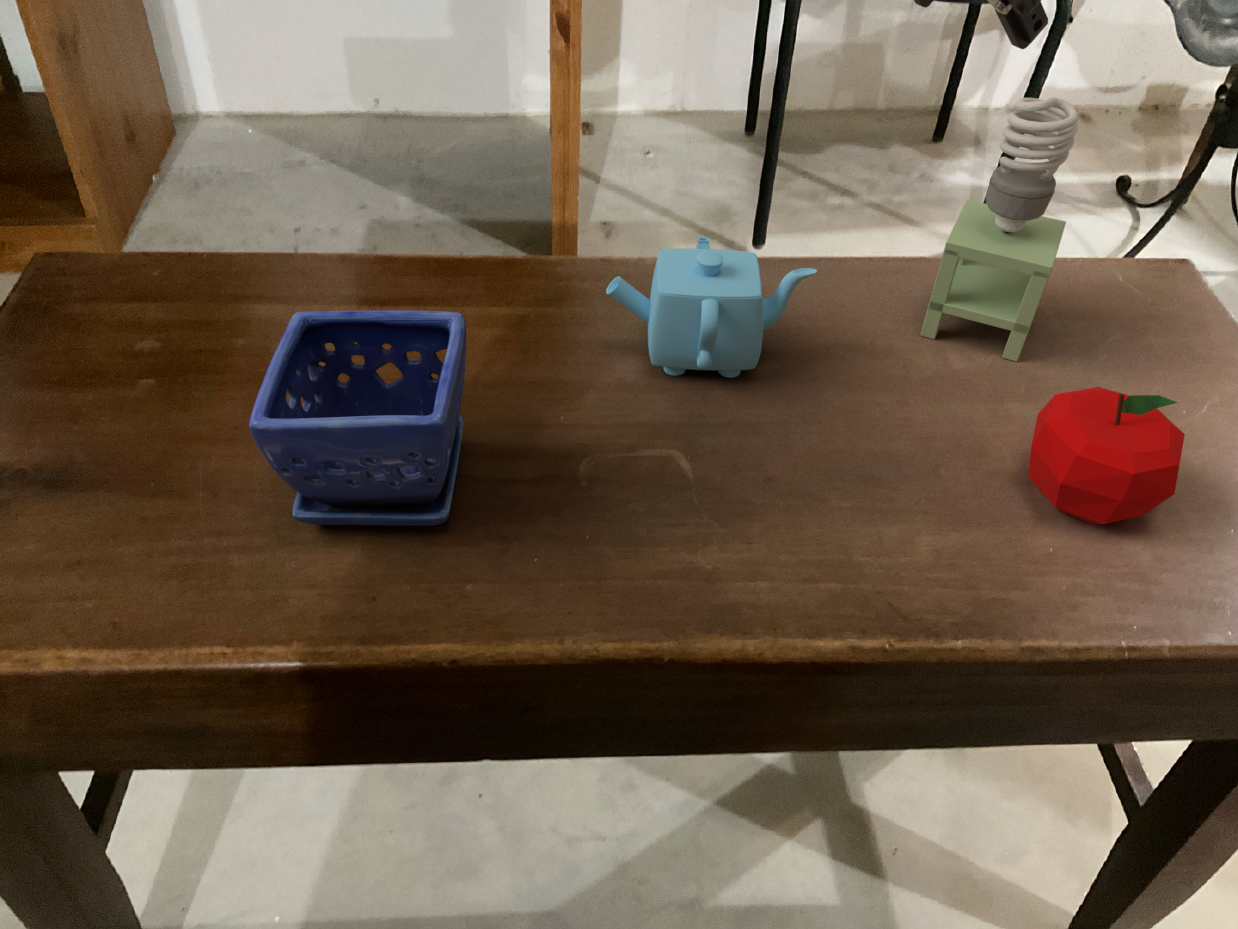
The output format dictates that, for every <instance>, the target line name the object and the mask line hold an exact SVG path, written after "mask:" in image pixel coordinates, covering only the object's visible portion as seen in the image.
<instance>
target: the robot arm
mask: <svg viewBox="0 0 1238 929" xmlns="http://www.w3.org/2000/svg"><path fill="white" fill-rule="evenodd" d="M913 1H914V3H915V4H916V5H918V6H920V7H922V8H928V7H930V6H931V5H932V3H933V2H934V1H935V0H913ZM986 2H988V3H989V4H990V5H991V6H992V7H993V8H994V11H995V14H996V16H997V18H998V19H999V22H1000V23H1001V25H1002V28H1003V30H1004V32H1005V35H1006V36H1007V38H1008V40H1009V42H1010V44H1011V45H1012V46H1013V47H1016V48H1019V49H1020V50H1026V49H1027V48H1028V47H1029V46H1030V45H1031V44H1032V43H1033V42H1034V40H1036V38H1037V37H1038V36H1039V35H1040V34H1041V32H1042V31H1043V30H1044V29H1045V28H1046V26H1047V25H1048V24H1049V17H1048V14H1047V13H1046V10H1045V8H1044V6H1043V4H1042V0H986Z"/></svg>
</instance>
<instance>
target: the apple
mask: <svg viewBox="0 0 1238 929" xmlns="http://www.w3.org/2000/svg"><path fill="white" fill-rule="evenodd" d="M1178 403H1179V402H1177V401H1176V400H1173V399H1170V398H1167V397H1164V396H1162V395H1158V394H1141V395H1139V394H1138V395H1136V394H1134V395H1133V394H1132V395H1130V394H1126V393H1122V392H1118V391H1115V390H1111V389H1107V388H1105V387H1100V386H1094V387H1088V388H1083V389H1077V390H1071V391H1066V392H1062V393H1061V392H1060V393H1056V394H1054V395H1053V397H1051V399H1050V400H1049V401H1048V402H1047V403H1046V404H1045V405H1044V406H1043V407H1042V408H1041V409H1040V411H1038V413H1037V416H1036V420H1035V426H1034V430H1033V436H1032V441H1031V444H1030V454H1029V455H1030V456H1029V464H1028V475H1027V477H1028V478H1029V479H1030V480H1031V482H1032V483H1033V484H1034V485H1035V487H1036V488H1037V489H1038V491H1040V492H1041V493H1042V495H1044V496H1045V497H1046V499H1047V500H1048V501H1049V502H1050V503H1051V505H1052V506H1053V507H1054V508H1055V509H1057V510H1058V511H1059V512H1062V513H1064V514H1067V515H1069V516H1071V517H1074V518H1076V519H1079V520H1082V521H1084V522H1087V523H1090V524H1092V525H1105V524H1110V523H1114V522H1115V523H1116V522H1121V521H1124V520H1128V519H1129V520H1130V519H1133V518H1137V517H1143V516H1145V515H1146V514H1148V513H1149V512H1151V511H1152V510H1154V509H1155V508H1156V507H1158V506H1160V505H1161V504H1162V503H1164V502H1165V501H1167V500H1168V499H1169V498H1171V497H1173V496H1174V495H1175V494H1176V488H1177V482H1178V476H1179V471H1180V464H1181V459H1182V452H1183V446H1184V440H1185V435H1186V434H1185V432H1183V431H1182V430H1181V429H1180V428H1179V427H1178V426H1177V425H1175V423H1173V422H1172V421H1171V420H1170V419H1169V418H1168V417H1167V416H1165V414H1164V413H1163V412H1162V411H1160V410H1159V408H1163V407H1167V406H1171V405H1174V404H1178Z"/></svg>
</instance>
